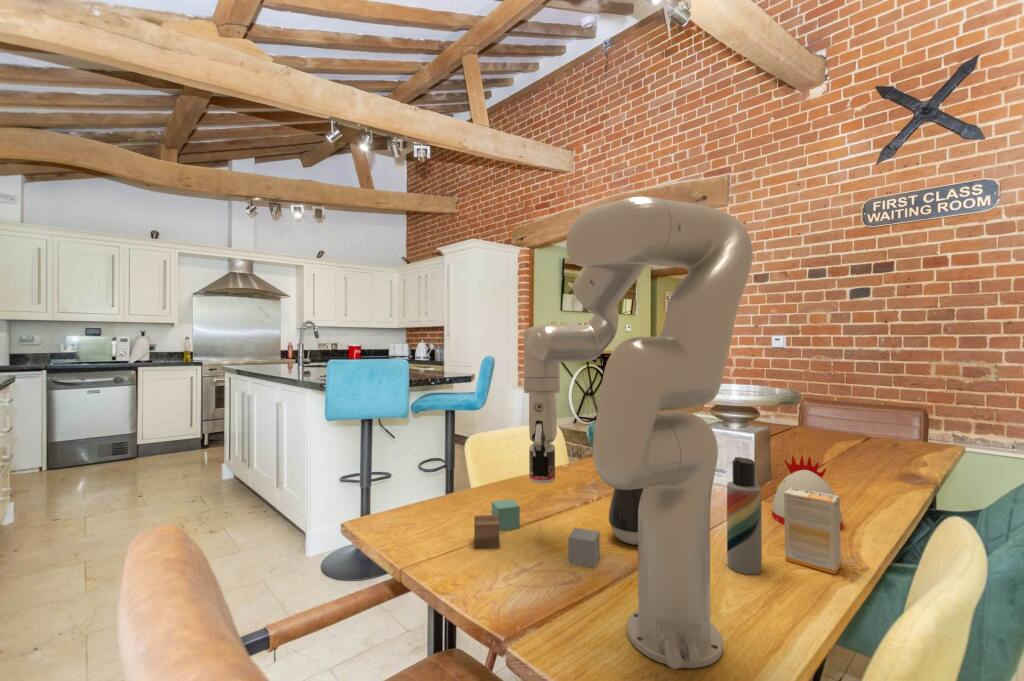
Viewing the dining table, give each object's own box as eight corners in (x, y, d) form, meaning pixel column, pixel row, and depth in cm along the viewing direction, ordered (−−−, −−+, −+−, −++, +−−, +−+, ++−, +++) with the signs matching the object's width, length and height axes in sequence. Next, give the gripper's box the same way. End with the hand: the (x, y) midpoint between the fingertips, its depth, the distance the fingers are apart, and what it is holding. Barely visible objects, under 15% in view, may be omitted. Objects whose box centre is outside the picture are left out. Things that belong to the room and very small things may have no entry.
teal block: (519, 528, 105) (519, 506, 105) (498, 531, 104) (498, 508, 104) (512, 520, 110) (512, 499, 110) (491, 523, 108) (491, 501, 109)
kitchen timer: (773, 506, 119) (773, 447, 119) (839, 516, 112) (839, 453, 112) (770, 525, 107) (770, 458, 107) (845, 538, 100) (844, 467, 100)
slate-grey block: (594, 568, 87) (594, 541, 87) (568, 564, 88) (568, 537, 89) (599, 557, 91) (599, 531, 91) (574, 553, 93) (574, 527, 93)
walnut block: (499, 548, 95) (499, 523, 95) (474, 549, 95) (474, 524, 95) (498, 538, 100) (498, 514, 100) (474, 539, 100) (474, 515, 100)
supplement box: (841, 566, 87) (841, 495, 87) (835, 575, 84) (835, 501, 84) (791, 552, 93) (791, 485, 93) (783, 560, 90) (783, 491, 90)
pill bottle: (534, 485, 96) (534, 437, 96) (526, 478, 101) (525, 432, 101) (559, 482, 97) (558, 435, 98) (549, 476, 103) (549, 431, 103)
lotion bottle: (731, 557, 91) (731, 453, 91) (764, 566, 87) (764, 458, 87) (723, 568, 86) (722, 459, 86) (757, 578, 83) (757, 464, 83)
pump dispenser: (624, 553, 93) (624, 476, 93) (600, 533, 103) (600, 463, 103) (669, 547, 95) (669, 472, 95) (642, 528, 105) (642, 459, 105)
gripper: (556, 389, 90) (556, 484, 90) (562, 382, 107) (563, 462, 107) (517, 389, 92) (517, 482, 91) (529, 382, 109) (530, 461, 108)
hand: (542, 470), depth 99 cm, fingers closed on pill bottle, 5 cm apart
